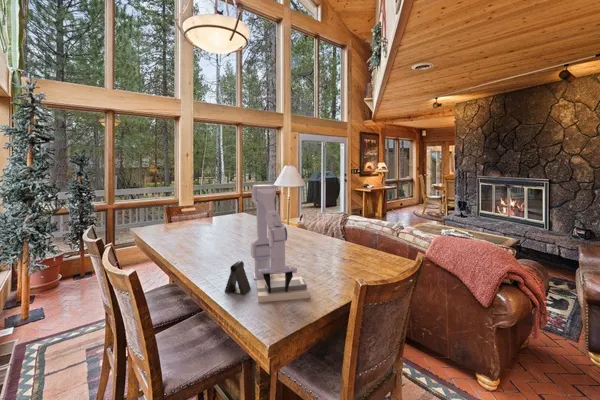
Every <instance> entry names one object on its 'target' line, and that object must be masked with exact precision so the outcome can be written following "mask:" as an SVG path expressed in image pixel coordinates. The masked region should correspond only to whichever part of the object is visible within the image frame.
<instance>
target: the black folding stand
mask: <svg viewBox="0 0 600 400" xmlns="http://www.w3.org/2000/svg"><path fill="white" fill-rule="evenodd" d="M244 267H245V264H244V261H243V260H241V261H240V260H238V261H237V262H235V263H234V264H232V265H231V266H230V273H229V276H228V280H227V283H226V285H225V288H224V289H225V290H224V293H226V292H227V293H228V294H235V295H242V296H245V294H247V292H249V291H250V290H251V289H252V288H251V285H250V282H249V279H248V276H247V274H246V271H245V268H244Z"/></svg>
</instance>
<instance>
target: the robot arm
mask: <svg viewBox="0 0 600 400" xmlns="http://www.w3.org/2000/svg"><path fill="white" fill-rule="evenodd" d="M276 194H277V189H276V185H275V184H253V185H251V202H253V203H255V206H256V238H254V239H253V240H252V241H251V244H250V256H251V258H252V259H254V270H253V280H256V281H257V280H261V279H265V281H266V283H267V286H268V289H269V293H271V287H270V279H273V278H272V275H281V274H284V278H285V291H286V292H288V286H289V283H290V281H291V279H292V277H294V275H293V273H294V274H297V272H298V269H297V266H286V241H287V240H288V230H287V227H286V226H285V224H284V223H282V219H281V215H280V212H278V211H276V206H275V201H274V200H275V199H276V196H277V195H276Z"/></svg>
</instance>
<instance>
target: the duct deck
mask: <svg viewBox="0 0 600 400" xmlns="http://www.w3.org/2000/svg"><path fill="white" fill-rule="evenodd" d="M298 279H304V278H303V276H293V277H292V279H291V280H298ZM271 281H285V277H279V278H277V277H276V278H270V282H271ZM265 284H266V281H265V279H256V288H257V289H256V291H257V302H258V303H265V302H266V303H267V302H277V301H288V300H301V299H310V290H309V289H308V287H307V289H296V290H288V292H286V291H285V290H284V291H271V293H269V292H267V289H265Z"/></svg>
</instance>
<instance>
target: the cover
mask: <svg viewBox="0 0 600 400" xmlns="http://www.w3.org/2000/svg"><path fill="white" fill-rule="evenodd" d="M270 287H271V291H284V290H285V281H271V282H270ZM307 288H308V284H307V283H306V280H305V279H304V278H303V279H298V280H291V281H290V283H289V286H288V290H296V289H307ZM265 289H267V292H269V289H268V286H267V283H266V284H265Z"/></svg>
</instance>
